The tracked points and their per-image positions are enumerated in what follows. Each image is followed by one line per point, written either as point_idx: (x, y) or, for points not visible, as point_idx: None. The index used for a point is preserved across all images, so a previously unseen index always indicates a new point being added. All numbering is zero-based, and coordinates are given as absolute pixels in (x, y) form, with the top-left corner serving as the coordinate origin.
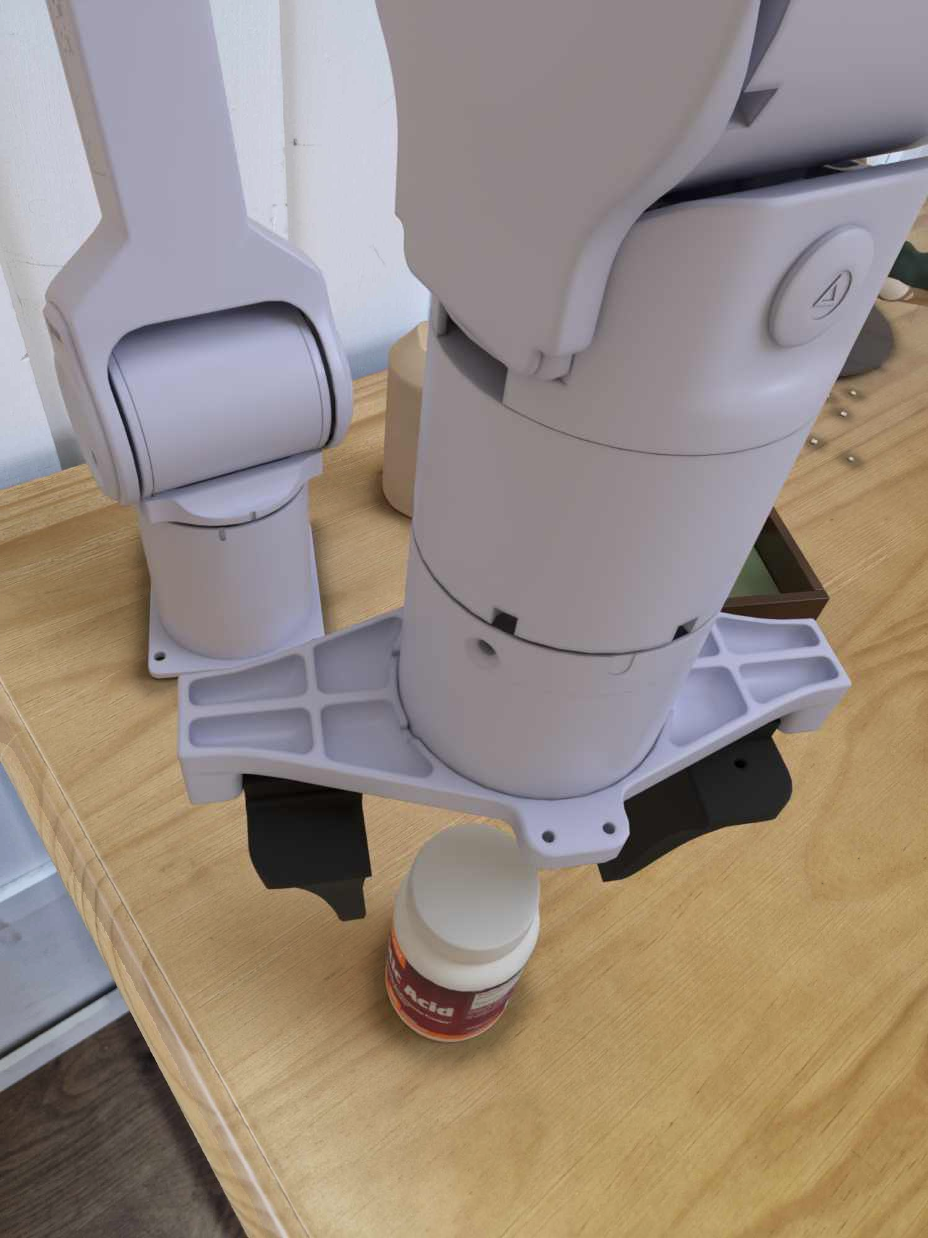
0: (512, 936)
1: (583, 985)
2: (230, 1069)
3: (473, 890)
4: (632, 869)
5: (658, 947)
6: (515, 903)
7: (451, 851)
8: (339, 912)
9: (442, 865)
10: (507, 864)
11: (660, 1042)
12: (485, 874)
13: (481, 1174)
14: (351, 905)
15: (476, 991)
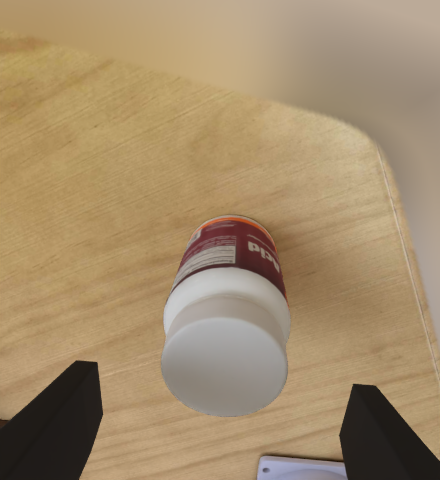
0: (202, 324)
1: (136, 228)
2: (392, 233)
3: (227, 366)
4: (54, 395)
5: (74, 239)
6: (190, 348)
7: (238, 400)
8: (410, 430)
9: (250, 391)
10: (188, 379)
11: (89, 179)
12: (211, 376)
13: (242, 129)
14: (405, 446)
15: (235, 267)
